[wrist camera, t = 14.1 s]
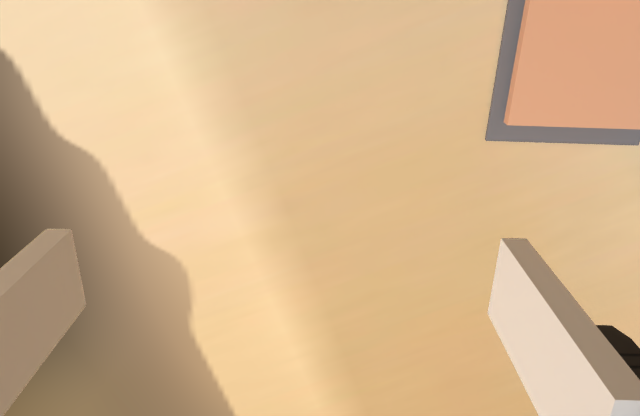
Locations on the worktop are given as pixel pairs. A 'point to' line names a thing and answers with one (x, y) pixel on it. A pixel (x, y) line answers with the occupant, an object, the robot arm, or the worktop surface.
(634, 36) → the lid
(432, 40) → the worktop surface
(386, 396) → the worktop surface
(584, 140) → the mat
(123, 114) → the worktop surface
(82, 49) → the worktop surface
